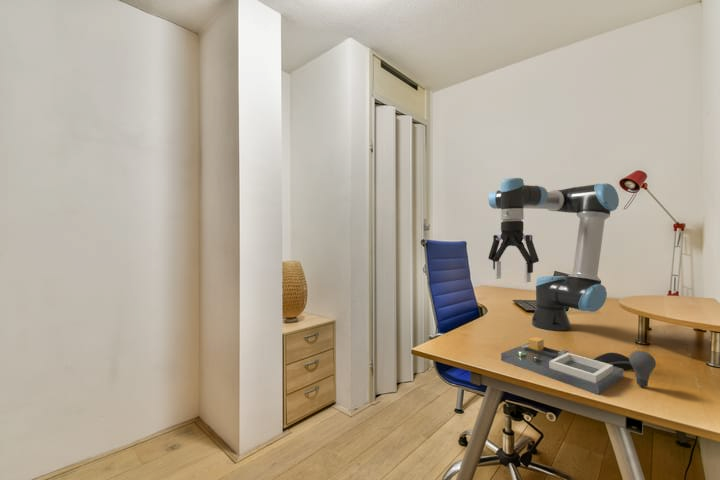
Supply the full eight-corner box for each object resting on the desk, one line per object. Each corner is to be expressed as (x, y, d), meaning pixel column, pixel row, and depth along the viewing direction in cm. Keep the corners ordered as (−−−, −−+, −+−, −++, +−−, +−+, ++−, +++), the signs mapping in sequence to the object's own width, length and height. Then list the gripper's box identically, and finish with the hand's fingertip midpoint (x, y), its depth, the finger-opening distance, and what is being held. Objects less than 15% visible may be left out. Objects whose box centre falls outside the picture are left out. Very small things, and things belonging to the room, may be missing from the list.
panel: (529, 349, 117) (529, 337, 117) (623, 377, 94) (623, 362, 94) (501, 360, 107) (501, 347, 107) (598, 394, 84) (598, 378, 84)
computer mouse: (586, 361, 106) (586, 350, 106) (624, 362, 106) (624, 350, 106) (601, 371, 99) (601, 358, 99) (642, 371, 99) (642, 358, 99)
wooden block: (534, 346, 113) (534, 337, 113) (543, 349, 110) (543, 339, 110) (528, 349, 110) (528, 339, 110) (537, 351, 108) (537, 341, 108)
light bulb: (658, 388, 87) (658, 352, 87) (651, 393, 84) (651, 356, 84) (633, 380, 92) (633, 346, 92) (625, 385, 89) (625, 350, 89)
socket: (567, 358, 102) (567, 352, 102) (613, 372, 92) (613, 365, 92) (549, 367, 95) (549, 361, 95) (595, 383, 85) (595, 375, 85)
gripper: (478, 221, 124) (478, 277, 125) (539, 219, 105) (539, 285, 105) (489, 222, 128) (490, 275, 129) (550, 219, 109) (550, 282, 110)
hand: (512, 280), depth 117 cm, fingers open, 11 cm apart
